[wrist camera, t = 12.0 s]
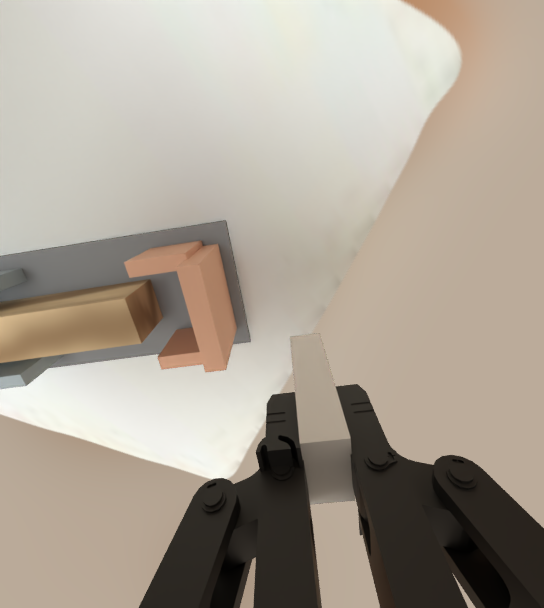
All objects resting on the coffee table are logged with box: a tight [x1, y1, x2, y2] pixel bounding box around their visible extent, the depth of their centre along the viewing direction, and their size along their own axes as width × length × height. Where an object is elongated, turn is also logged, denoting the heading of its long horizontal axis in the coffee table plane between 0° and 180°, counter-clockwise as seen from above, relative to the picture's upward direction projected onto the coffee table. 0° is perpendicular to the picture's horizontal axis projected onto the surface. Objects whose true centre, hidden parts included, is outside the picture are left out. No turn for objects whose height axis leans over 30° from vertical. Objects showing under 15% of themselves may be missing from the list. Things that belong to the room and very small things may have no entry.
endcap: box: [124, 241, 237, 372], centre depth 24 cm, size 9×6×7 cm, turn 9°
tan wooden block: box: [0, 279, 163, 363], centre depth 26 cm, size 4×15×5 cm, turn 99°
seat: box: [0, 221, 250, 389], centre depth 26 cm, size 12×26×5 cm, turn 99°
